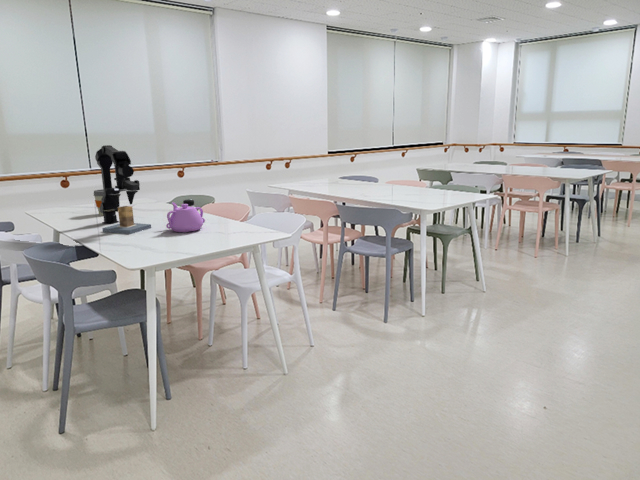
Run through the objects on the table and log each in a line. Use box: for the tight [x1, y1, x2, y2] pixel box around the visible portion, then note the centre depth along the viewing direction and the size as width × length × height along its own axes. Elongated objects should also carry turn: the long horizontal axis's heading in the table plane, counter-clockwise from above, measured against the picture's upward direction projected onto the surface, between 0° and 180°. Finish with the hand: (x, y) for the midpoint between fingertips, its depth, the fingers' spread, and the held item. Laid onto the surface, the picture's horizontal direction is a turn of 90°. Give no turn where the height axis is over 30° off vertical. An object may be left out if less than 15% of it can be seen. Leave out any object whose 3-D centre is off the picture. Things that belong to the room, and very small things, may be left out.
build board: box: [102, 222, 152, 235], centre depth 261 cm, size 18×16×2 cm
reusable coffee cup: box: [93, 189, 107, 216], centre depth 308 cm, size 12×13×15 cm
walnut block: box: [118, 215, 135, 227], centre depth 260 cm, size 5×5×5 cm
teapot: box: [165, 201, 206, 233], centre depth 259 cm, size 22×22×14 cm
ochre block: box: [117, 205, 134, 218], centre depth 259 cm, size 5×5×5 cm
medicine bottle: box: [182, 198, 199, 212], centre depth 284 cm, size 7×7×12 cm
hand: (124, 205), depth 258 cm, fingers open, 9 cm apart
